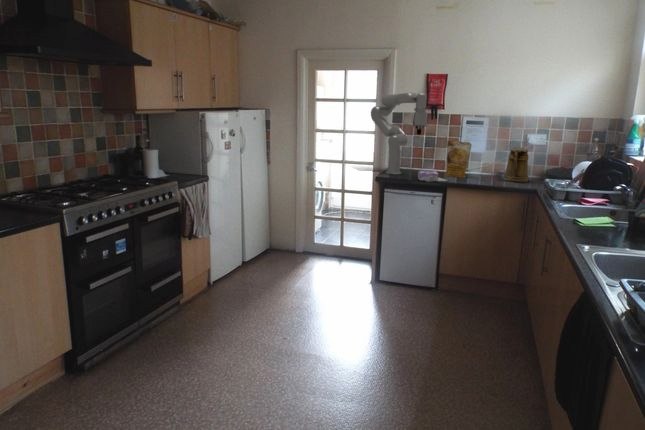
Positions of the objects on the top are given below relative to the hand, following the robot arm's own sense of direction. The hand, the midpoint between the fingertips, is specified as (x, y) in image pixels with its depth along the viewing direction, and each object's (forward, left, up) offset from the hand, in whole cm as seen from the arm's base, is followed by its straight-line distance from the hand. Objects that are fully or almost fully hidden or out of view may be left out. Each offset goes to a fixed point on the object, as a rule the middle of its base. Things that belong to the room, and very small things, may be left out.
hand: (418, 134), depth 369 cm
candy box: (+4, +7, -30) cm, 31 cm away
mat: (+13, +8, -33) cm, 36 cm away
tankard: (+27, +71, -33) cm, 83 cm away
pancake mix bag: (+2, +34, -33) cm, 48 cm away
